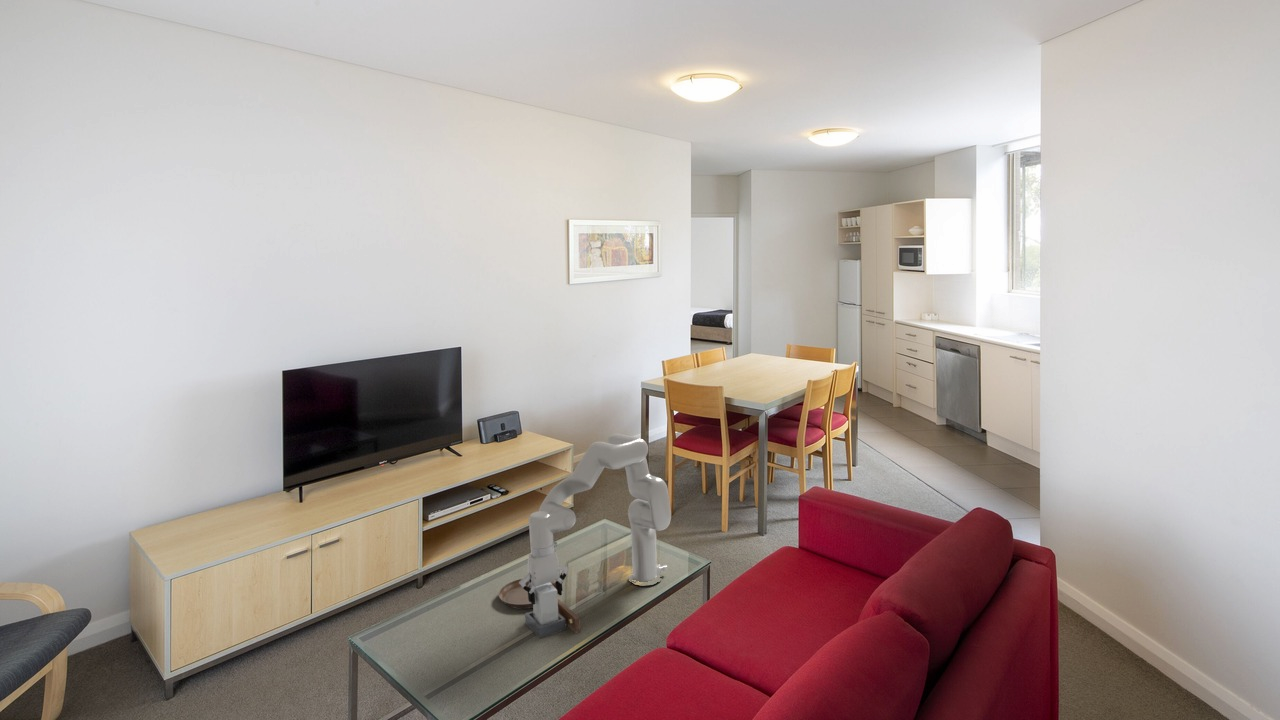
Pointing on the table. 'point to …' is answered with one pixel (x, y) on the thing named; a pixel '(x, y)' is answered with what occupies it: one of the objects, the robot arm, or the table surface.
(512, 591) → the plant saucer
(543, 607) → the small box
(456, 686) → the table surface
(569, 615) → the brown l-shaped wood piece
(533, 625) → the gray square tray
